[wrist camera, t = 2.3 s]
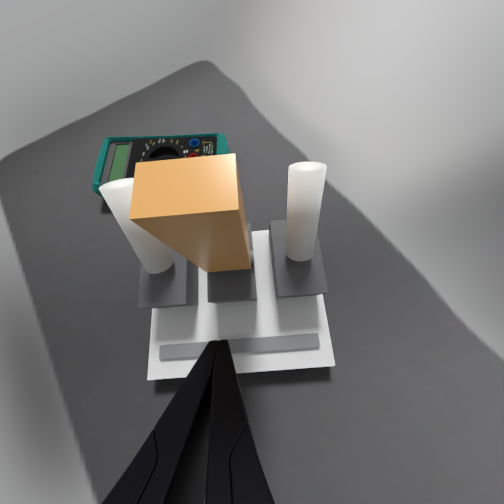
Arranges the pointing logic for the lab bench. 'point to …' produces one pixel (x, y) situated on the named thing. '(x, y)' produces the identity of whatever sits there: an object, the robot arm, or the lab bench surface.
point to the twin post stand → (237, 290)
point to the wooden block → (194, 209)
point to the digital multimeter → (150, 153)
